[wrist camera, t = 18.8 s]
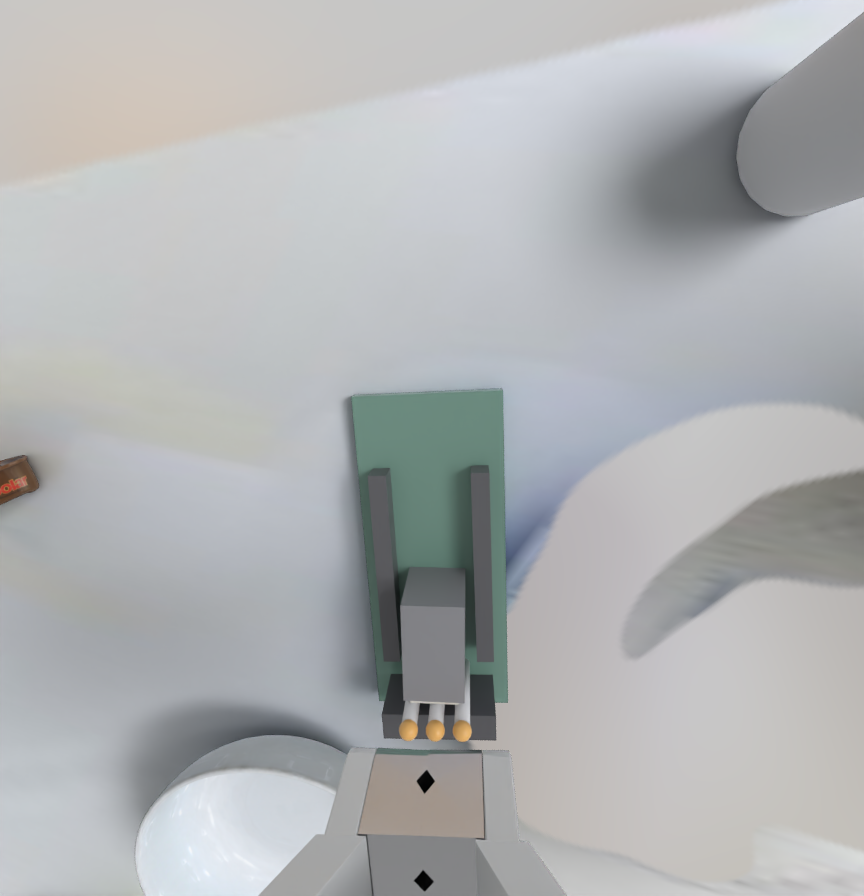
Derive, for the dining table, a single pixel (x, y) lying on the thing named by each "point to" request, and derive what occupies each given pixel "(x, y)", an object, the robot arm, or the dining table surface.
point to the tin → (16, 478)
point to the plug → (433, 635)
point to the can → (809, 132)
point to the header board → (436, 541)
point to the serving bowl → (237, 817)
